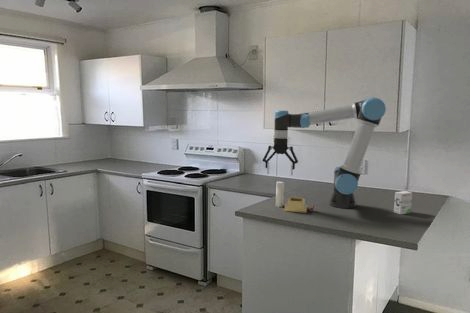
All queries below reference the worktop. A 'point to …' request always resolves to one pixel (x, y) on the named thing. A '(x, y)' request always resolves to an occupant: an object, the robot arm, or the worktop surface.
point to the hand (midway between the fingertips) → (279, 174)
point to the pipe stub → (279, 194)
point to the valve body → (297, 205)
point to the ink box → (402, 202)
